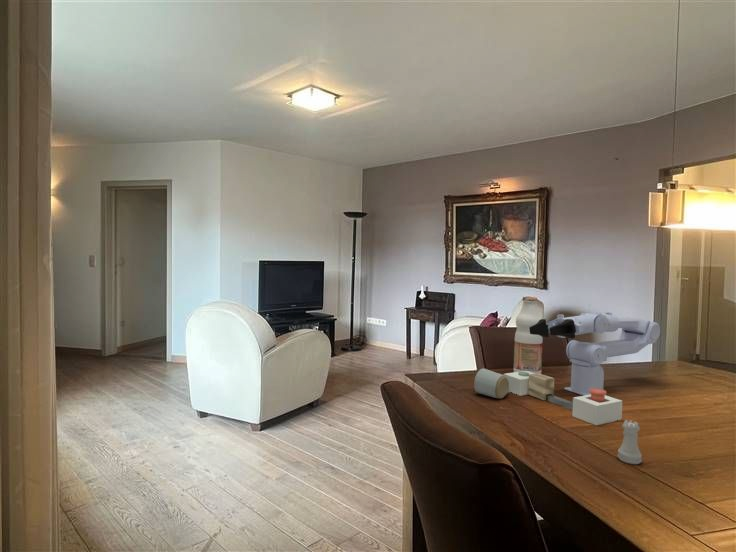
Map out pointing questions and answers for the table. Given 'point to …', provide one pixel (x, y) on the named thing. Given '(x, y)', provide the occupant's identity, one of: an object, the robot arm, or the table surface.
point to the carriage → (540, 386)
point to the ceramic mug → (491, 384)
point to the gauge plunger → (597, 394)
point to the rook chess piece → (630, 444)
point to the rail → (559, 401)
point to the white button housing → (597, 409)
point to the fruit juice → (527, 339)
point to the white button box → (518, 382)
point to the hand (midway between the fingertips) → (540, 331)
